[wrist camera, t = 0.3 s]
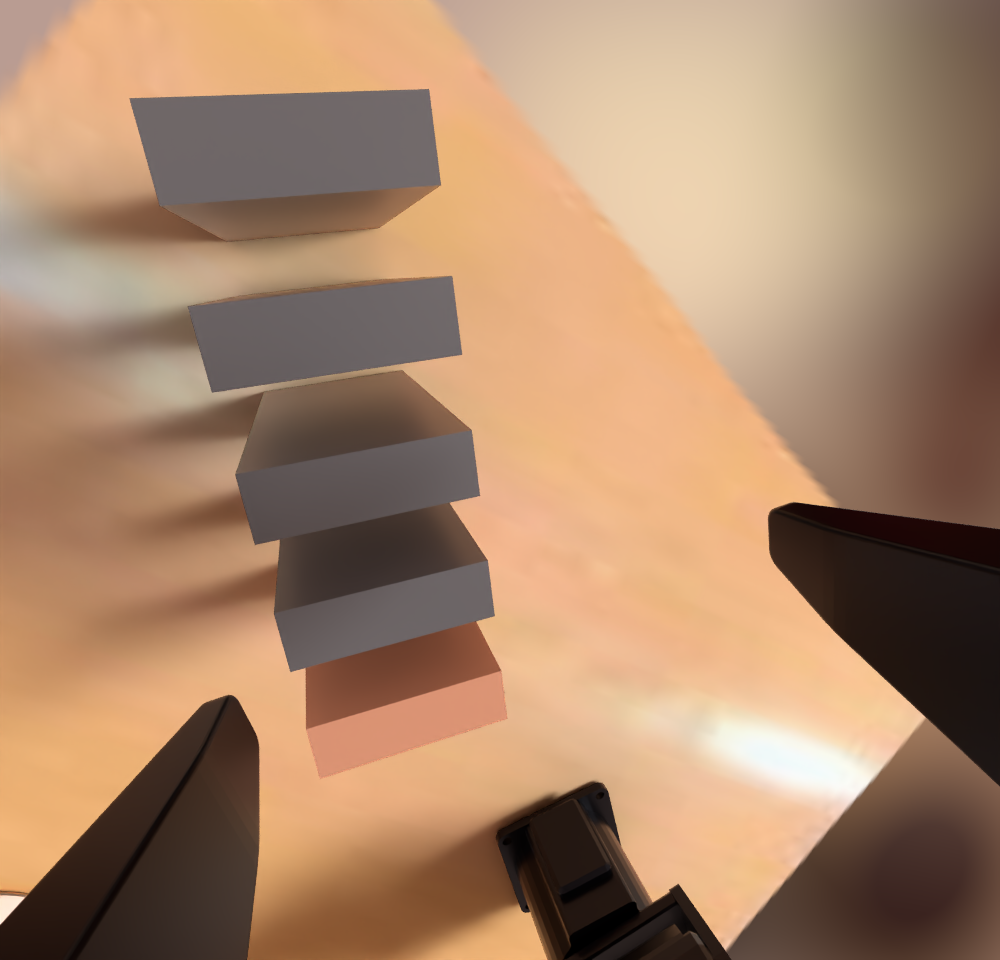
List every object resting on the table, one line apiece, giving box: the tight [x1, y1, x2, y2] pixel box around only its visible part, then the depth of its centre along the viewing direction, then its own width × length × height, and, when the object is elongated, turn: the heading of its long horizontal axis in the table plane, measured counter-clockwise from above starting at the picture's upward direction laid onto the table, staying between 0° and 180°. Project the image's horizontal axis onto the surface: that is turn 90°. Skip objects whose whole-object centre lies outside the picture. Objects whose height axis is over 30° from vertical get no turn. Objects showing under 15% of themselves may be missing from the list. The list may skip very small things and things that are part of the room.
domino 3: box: [235, 370, 480, 545], centre depth 17 cm, size 2×5×10 cm, turn 96°
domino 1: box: [130, 89, 441, 242], centre depth 15 cm, size 2×5×10 cm, turn 96°
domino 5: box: [306, 621, 507, 779], centre depth 20 cm, size 2×5×10 cm, turn 96°
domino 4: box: [274, 503, 495, 672], centre depth 18 cm, size 2×5×10 cm, turn 96°
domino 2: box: [188, 276, 462, 392], centre depth 16 cm, size 2×5×10 cm, turn 96°
